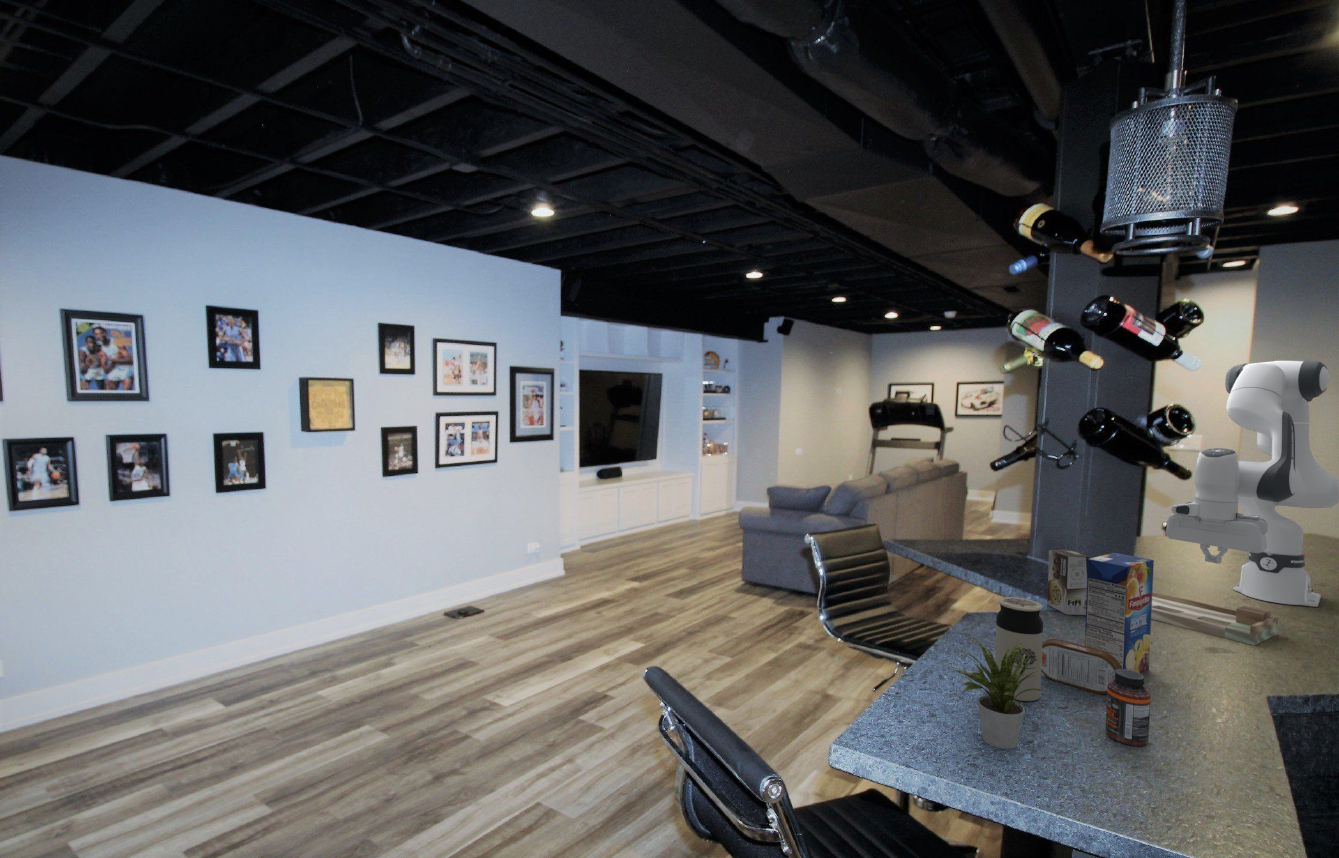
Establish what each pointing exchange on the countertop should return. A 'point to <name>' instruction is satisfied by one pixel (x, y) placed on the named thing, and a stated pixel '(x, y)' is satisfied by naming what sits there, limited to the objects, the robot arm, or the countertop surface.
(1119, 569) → the juice carton
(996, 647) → the travel mug
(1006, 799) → the countertop surface
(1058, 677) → the tin
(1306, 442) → the robot arm
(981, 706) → the house plant
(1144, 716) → the supplement bottle
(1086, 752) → the countertop surface
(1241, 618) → the walnut block
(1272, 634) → the box
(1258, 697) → the countertop surface
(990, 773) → the countertop surface
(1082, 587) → the coffee box
